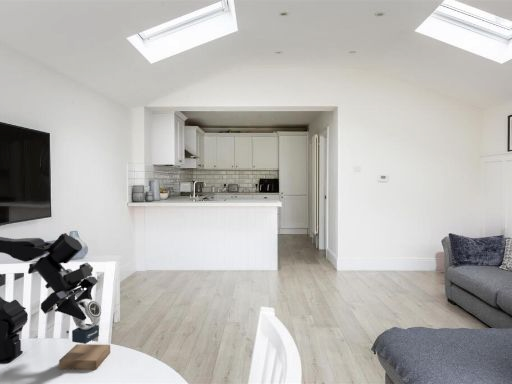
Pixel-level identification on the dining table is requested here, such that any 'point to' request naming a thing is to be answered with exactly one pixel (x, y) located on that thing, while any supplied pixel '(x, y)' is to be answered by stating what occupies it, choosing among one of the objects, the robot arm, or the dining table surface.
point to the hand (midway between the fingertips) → (90, 316)
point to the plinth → (84, 357)
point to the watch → (87, 330)
